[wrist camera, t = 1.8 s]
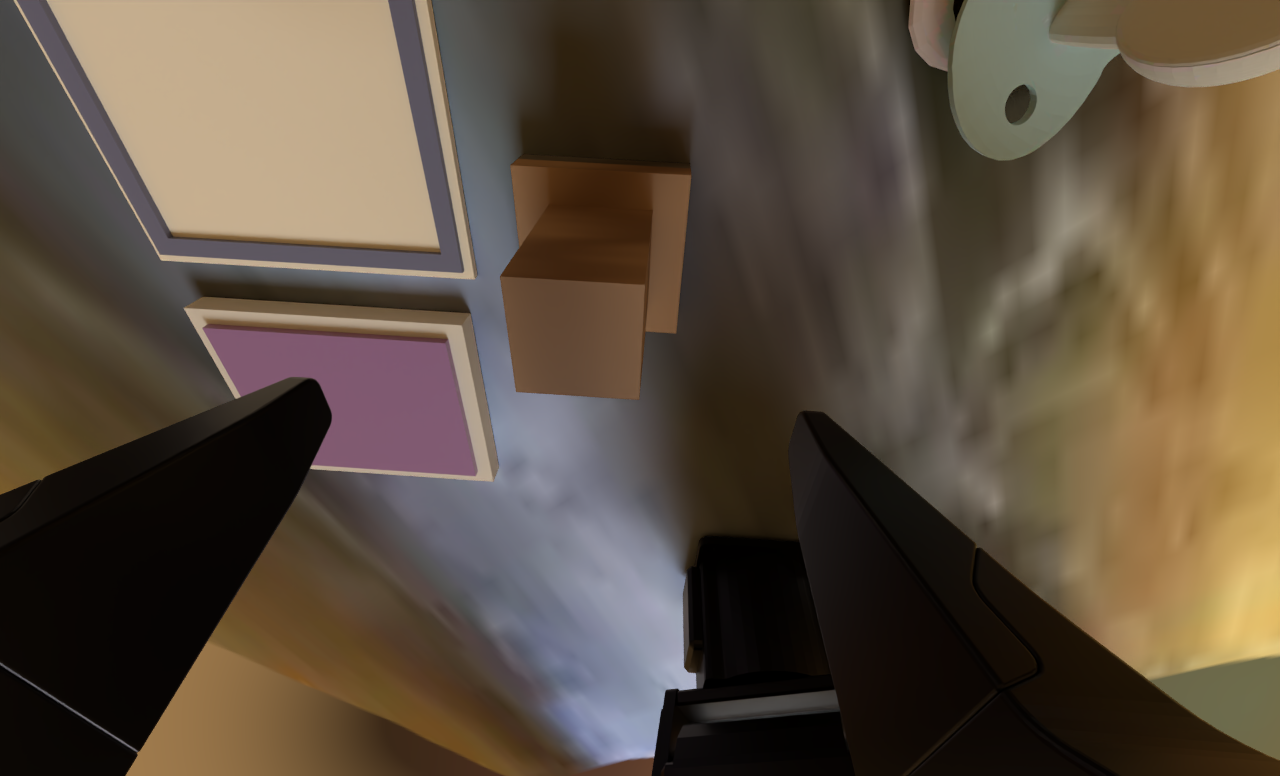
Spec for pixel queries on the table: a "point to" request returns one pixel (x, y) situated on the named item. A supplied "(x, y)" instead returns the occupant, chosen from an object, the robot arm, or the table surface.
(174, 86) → the marked card
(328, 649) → the table surface
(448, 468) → the ink pad
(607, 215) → the stamp
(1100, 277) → the table surface
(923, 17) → the pacifier
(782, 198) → the table surface
